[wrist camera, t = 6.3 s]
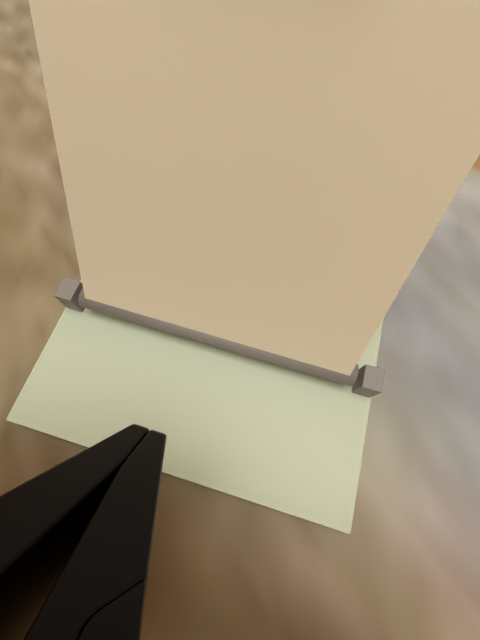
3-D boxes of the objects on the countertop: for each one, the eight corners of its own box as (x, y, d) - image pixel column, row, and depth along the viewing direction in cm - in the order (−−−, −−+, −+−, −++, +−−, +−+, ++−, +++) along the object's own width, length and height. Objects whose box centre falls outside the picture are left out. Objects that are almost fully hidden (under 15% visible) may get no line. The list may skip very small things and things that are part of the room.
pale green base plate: (342, 529, 14) (363, 542, 12) (18, 422, 16) (-17, 416, 13) (393, 214, 20) (413, 184, 18) (157, 155, 22) (149, 120, 19)
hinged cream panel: (349, 391, 15) (666, -124, 6) (80, 311, 16) (-34, -235, 7) (349, 373, 15) (628, -105, 6) (92, 298, 16) (6, -208, 7)
